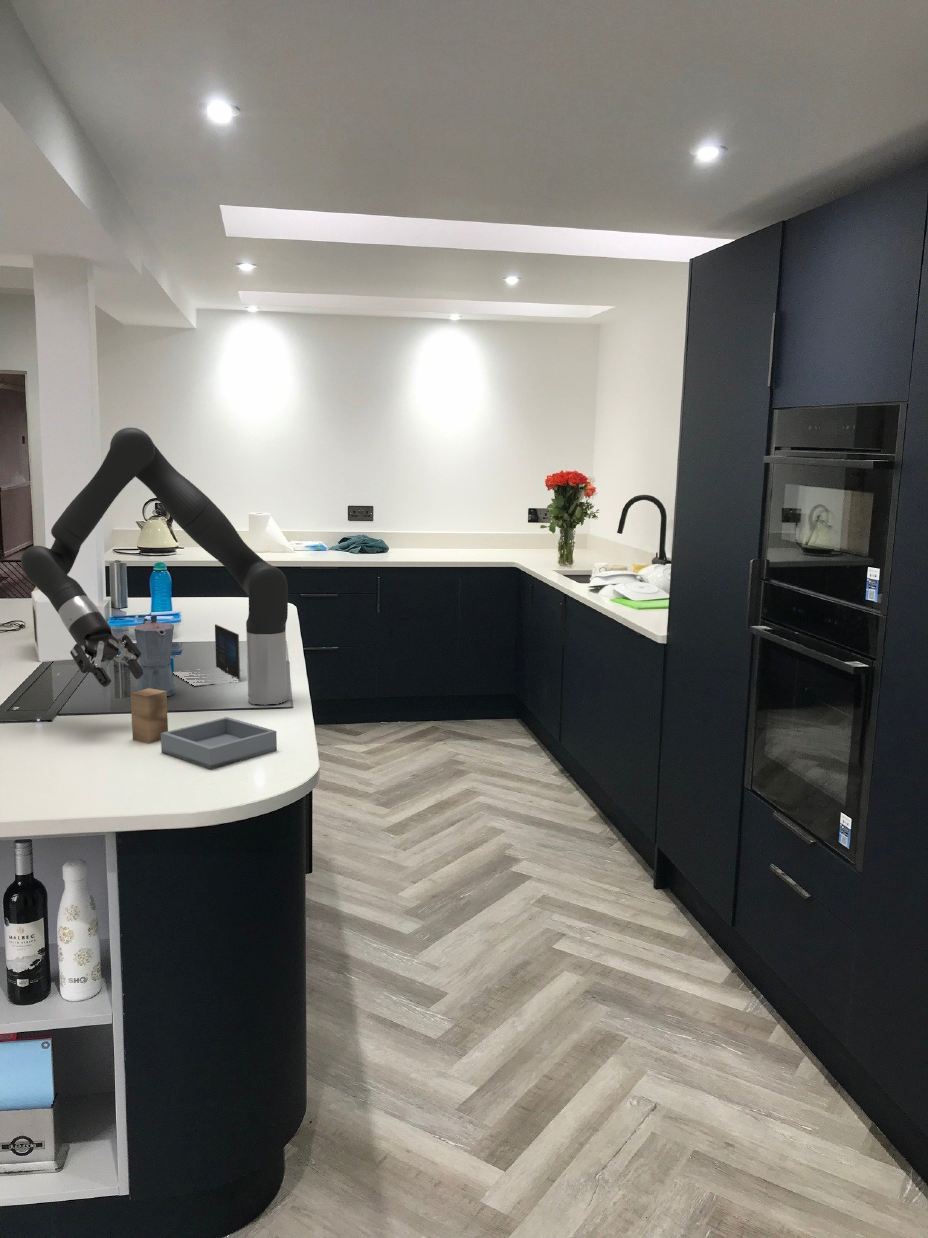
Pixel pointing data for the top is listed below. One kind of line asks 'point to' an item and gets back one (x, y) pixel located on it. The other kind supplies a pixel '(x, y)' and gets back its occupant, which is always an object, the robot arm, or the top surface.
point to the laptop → (221, 656)
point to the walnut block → (149, 715)
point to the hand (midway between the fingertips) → (124, 680)
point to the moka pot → (155, 655)
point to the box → (218, 742)
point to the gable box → (50, 631)
